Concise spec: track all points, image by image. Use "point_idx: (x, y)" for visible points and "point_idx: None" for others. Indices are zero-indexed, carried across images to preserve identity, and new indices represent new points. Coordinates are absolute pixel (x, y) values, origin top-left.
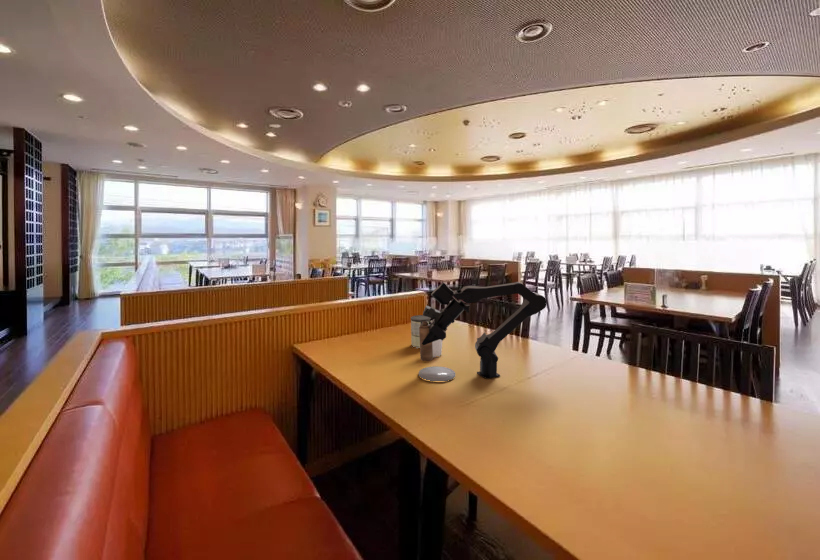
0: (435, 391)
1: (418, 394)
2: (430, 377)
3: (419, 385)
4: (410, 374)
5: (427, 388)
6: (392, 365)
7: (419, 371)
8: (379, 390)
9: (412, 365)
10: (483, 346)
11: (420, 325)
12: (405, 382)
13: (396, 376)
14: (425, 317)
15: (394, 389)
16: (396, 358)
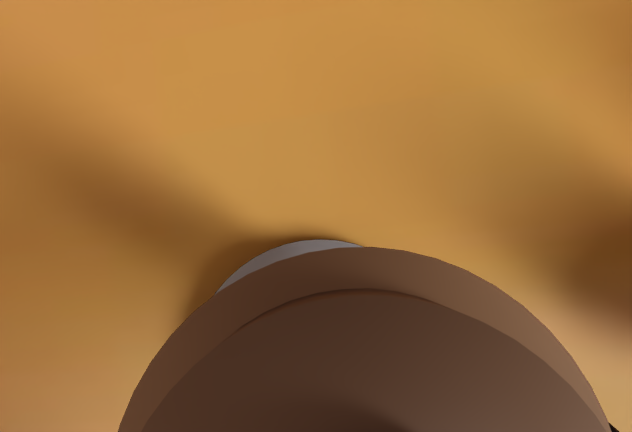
0: (62, 369)
1: (15, 269)
2: None
3: (145, 262)
4: (321, 183)
5: (103, 316)
6: (476, 35)
7: (335, 243)
8: (57, 34)
9: (495, 175)
10: None
11: (298, 323)
12: (185, 168)
13: (278, 96)
14: None
15: (76, 118)
16: (628, 38)
